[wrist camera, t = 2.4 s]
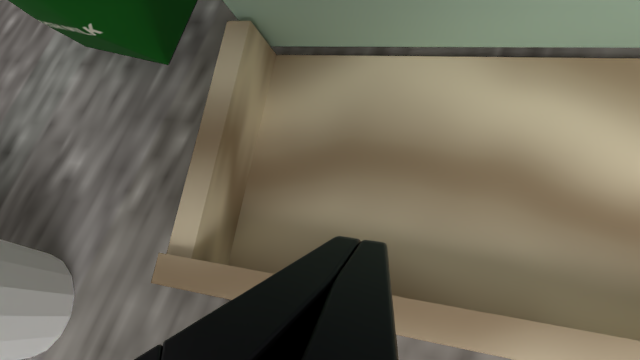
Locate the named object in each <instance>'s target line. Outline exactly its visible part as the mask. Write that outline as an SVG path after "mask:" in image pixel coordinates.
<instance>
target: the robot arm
mask: <svg viewBox="0 0 640 360" xmlns="http://www.w3.org/2000/svg"><path fill="white" fill-rule="evenodd" d="M134 360H398V349H397V339H396V329H395V319H394V309H393V299H392V289H391V279H390V268H389V258H388V248H387V245H386V243H384V242H379V241H372V240H363V241H360V240H359V239H357V238H351V237H344V236H336V237H334V238H332V239H331V240H329V241H327V242H326V243H324V244H323V245H321V246H319V247H318V248H316V249H314V250H313V251H311V252H309V253H308V254H306V255H305V256H303V257H301V258H300V259H298V260H296V261H295V262H293V263H291V264H290V265H288V266H287V267H285V268H283V269H282V270H280V271H278V272H277V273H275V274H274V275H272V276H270V277H269V278H267V279H265V280H264V281H262V282H260V283H259V284H257V285H256V286H254V287H252V288H251V289H249V290H247V291H246V292H244V293H242V294H241V295H239V296H238V297H236V298H234V299H233V300H231V301H229V302H228V303H226V304H225V305H223V306H221V307H220V308H218V309H216V310H215V311H213V312H211V313H210V314H208V315H207V316H205V317H203V318H202V319H200V320H198V321H197V322H195V323H193V324H192V325H190V326H189V327H187V328H185V329H184V330H182V331H180V332H179V333H177V334H176V335H174V336H172V337H171V338H169V339H167V340H166V341H164V343H163V346H162V345H157V346H156V347H154V348H152V349H151V350H149V351H147V352H146V353H144V354H143V355H141V356H139V357H138V358H136V359H134Z"/></svg>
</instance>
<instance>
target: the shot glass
mask: <svg viewBox="0 0 640 360" xmlns="http://www.w3.org/2000/svg"><path fill="white" fill-rule="evenodd" d="M74 296H75V294H74V287H73V280H72V275H71V274H70V272H69V270H68V268H67V267H66V265H65V263H64V262H63V261H62V260H60V259H58V258H56V257H55V256H53V255H51V254H49V253H45V252H42V251H39V250H35V249H32V248H28V247H25V246H22V245H18V244H15V243H11V242H8V241H5V240H1V239H0V360H21V359H26V358H31V357H33V356H36V355H38V354H40V353H42V352H45V351H47V350H48V349H49V348H50V347H51V346H52V345H53V344H54V343H55V342H56V341H57V340H58V339H59V338H60V336H61V335H62V333H63V331H64V329H65V327H66V325H67V323H68V321H69V319H70V317H71V313H72V307H73V302H74Z"/></svg>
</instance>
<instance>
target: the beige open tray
mask: <svg viewBox="0 0 640 360" xmlns="http://www.w3.org/2000/svg"><path fill="white" fill-rule="evenodd" d="M336 236H344V237H351V238H357V239H359V240H360V241H363V240H372V241H379V242H384V243H386V245H387V248H388V258H389V268H390V279H391V289H392V299H393V309H394V319H395V329H396V335H400V336H405V337H409V338H414V339H419V340H423V341H428V342H433V343H438V344H442V345H447V346H452V347H457V348H461V349H466V350H471V351H476V352H480V353H485V354H490V355H494V356H499V357H504V358H509V359H513V360H640V59H639V58H539V57H440V56H340V55H276V54H275V52H274V51H273V50H272V48H271V47H270V46H269V44H268V43H267V42H266V40H265V39H264V38H263V37H262V35H261V34H260V33H259V31H258V30H257V29H256V27H255V26H254V25H253V23H252V22H251V21H227V24H226V28H225V32H224V36H223V40H222V43H221V47H220V51H219V55H218V59H217V63H216V66H215V70H214V74H213V78H212V82H211V86H210V89H209V93H208V97H207V101H206V105H205V108H204V112H203V116H202V120H201V124H200V128H199V131H198V135H197V139H196V143H195V147H194V151H193V154H192V158H191V162H190V166H189V170H188V174H187V177H186V181H185V185H184V189H183V193H182V197H181V200H180V204H179V208H178V212H177V216H176V219H175V223H174V227H173V231H172V235H171V239H170V242H169V246H168V250H167V254H163V253H159V254H158V258H157V262H156V265H155V269H154V273H153V277H152V281H151V283H154V284H158V285H163V286H168V287H173V288H177V289H182V290H187V291H191V292H196V293H201V294H206V295H210V296H215V297H220V298H225V299H229V300H233V299H234V298H236V297H238V296H239V295H241V294H242V293H244V292H246V291H247V290H249V289H251V288H252V287H254V286H256V285H257V284H259V283H260V282H262V281H264V280H265V279H267V278H269V277H270V276H272V275H274V274H275V273H277V272H278V271H280V270H282V269H283V268H285V267H287V266H288V265H290V264H291V263H293V262H295V261H296V260H298V259H300V258H301V257H303V256H305V255H306V254H308V253H309V252H311V251H313V250H314V249H316V248H318V247H319V246H321V245H323V244H324V243H326V242H327V241H329V240H331V239H332V238H334V237H336Z"/></svg>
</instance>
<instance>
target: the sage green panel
mask: <svg viewBox="0 0 640 360" xmlns="http://www.w3.org/2000/svg"><path fill="white" fill-rule="evenodd" d="M223 1H224V3H225V4H226V5H227V6H228V8H229V9H230V10H231V11H232V13H233V14H234V15H235V16H236V18H237V19H238V20H239V21H251V22H252V23H253V25H254V26H255V27H256V29H257V30H258V31H259V33H260V34H261V35H262V37H263V38H264V39H265V40H266V42H267V43H268V44H269V46H298V47H598V48H640V0H223Z"/></svg>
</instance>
